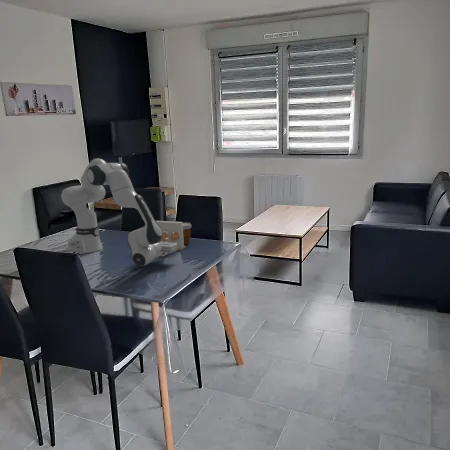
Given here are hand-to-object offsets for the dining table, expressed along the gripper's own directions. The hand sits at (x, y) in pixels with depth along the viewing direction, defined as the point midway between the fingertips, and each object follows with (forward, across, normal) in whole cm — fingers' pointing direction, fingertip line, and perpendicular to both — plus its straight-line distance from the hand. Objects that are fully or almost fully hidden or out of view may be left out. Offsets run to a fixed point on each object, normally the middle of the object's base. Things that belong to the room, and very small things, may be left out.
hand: (165, 242), depth 234 cm
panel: (+15, +7, +8) cm, 18 cm away
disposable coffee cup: (+26, 0, +8) cm, 27 cm away
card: (+3, +7, +8) cm, 11 cm away
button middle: (+11, +7, +2) cm, 13 cm away
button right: (+14, 0, +2) cm, 14 cm away
